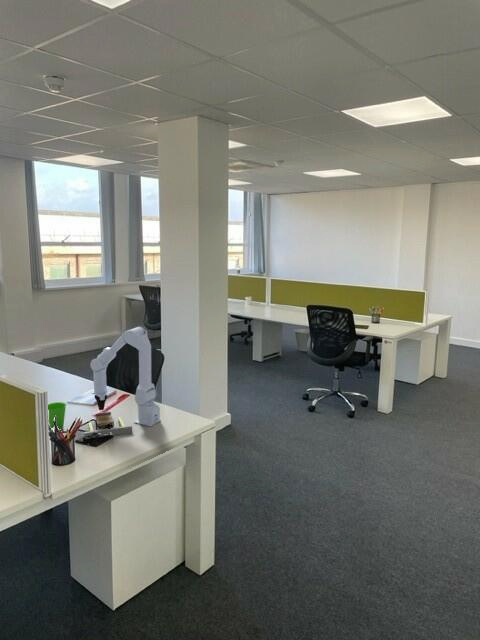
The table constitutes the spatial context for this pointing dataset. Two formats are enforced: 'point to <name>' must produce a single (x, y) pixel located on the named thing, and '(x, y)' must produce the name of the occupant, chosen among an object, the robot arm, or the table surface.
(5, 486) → the table surface
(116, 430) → the bay
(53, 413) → the cup
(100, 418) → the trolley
